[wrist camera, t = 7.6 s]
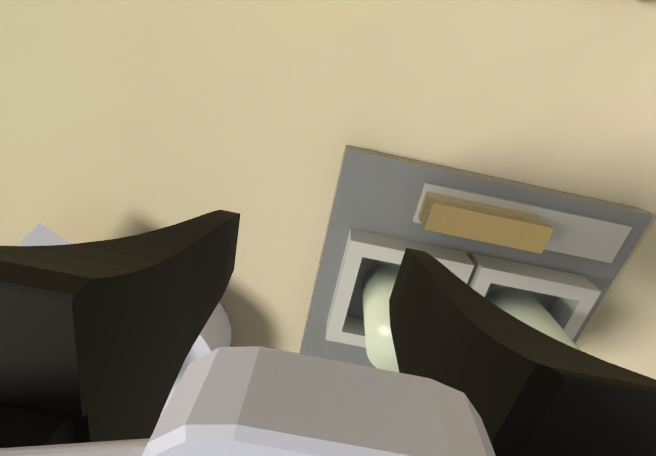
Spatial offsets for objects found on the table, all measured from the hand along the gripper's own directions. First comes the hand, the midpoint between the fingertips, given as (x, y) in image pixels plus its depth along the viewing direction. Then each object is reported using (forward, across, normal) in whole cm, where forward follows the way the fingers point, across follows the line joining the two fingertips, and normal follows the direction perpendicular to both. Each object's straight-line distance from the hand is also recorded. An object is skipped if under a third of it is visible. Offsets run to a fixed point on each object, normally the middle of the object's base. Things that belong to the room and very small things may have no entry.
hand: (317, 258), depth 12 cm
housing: (+9, -9, +5) cm, 14 cm away
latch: (+8, -8, 0) cm, 11 cm away
